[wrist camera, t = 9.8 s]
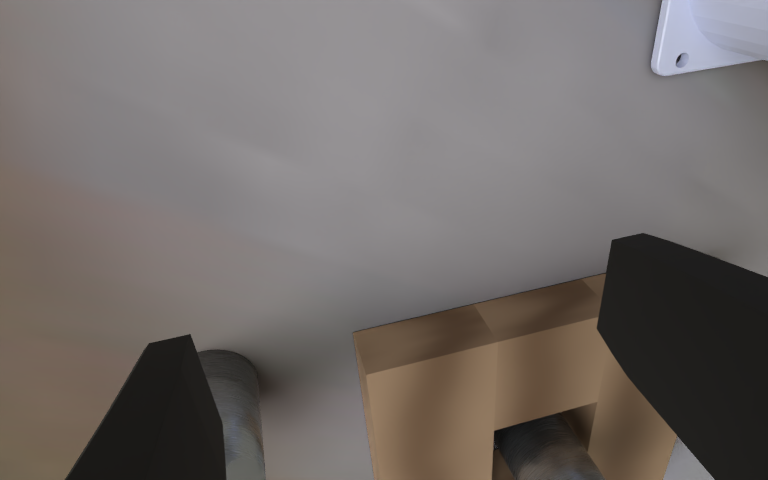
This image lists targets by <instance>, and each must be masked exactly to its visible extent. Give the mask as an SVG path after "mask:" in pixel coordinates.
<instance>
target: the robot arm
mask: <svg viewBox="0 0 768 480" xmlns="http://www.w3.org/2000/svg"><path fill="white" fill-rule="evenodd" d="M680 54H681V58H680V60H679V62H678V63H677V64H676V60H677V57H678V56H679V55H680ZM759 60H766V61H768V0H662V5H661V11H660V16H659V22H658V27H657V33H656V38H655V44H654V49H653V55H652V60H651V68H652V70H653V72H655V73H656V74H658V75H661V76H670V75H676V74H682V73H687V72H693V71H699V70H705V69H711V68H717V67H723V66H729V65H735V64H741V63H747V62H753V61H759ZM596 329H597V330H598V332H599V333H600V335H601V337H602V338H603V340H604V341H605V343H606V345H607V346H608V348H609V350H610V351H611V353H612V354H613V356H614V357H615V359H616V360H617V362H618V363H619V365H620V366H621V368H622V369H623V371H624V372H625V374H626V375H627V377H628V378H629V379H630V380H631V382H632V383H633V384H634V385H635V386H636V388H637V389H638V390H639V391H640V392H641V394H642V395H643V396H644V397H645V398H646V400H647V401H648V402H649V403H650V404H651V405H652V407H653V408H654V409H655V410H656V411H657V413H658V414H659V415H660V416H661V417H662V418H663V420H664V421H665V422H666V423H667V424H668V425H669V427H670V428H671V429H672V430H673V431H674V432H675V434H676V435H677V436H678V437H679V438H680V439H681V441H682V442H683V443H684V444H685V445H686V446H687V448H688V449H689V450H690V451H691V452H692V453H693V455H694V456H695V457H696V458H697V459H698V460H699V462H700V463H701V464H702V465H703V466H704V467H705V469H706V470H707V471H708V472H709V473H710V474H711V476H712V477H713V478H714V479H715V480H768V277H766V276H763V275H760V274H757V273H755V272H752V271H749V270H747V269H744V268H741V267H739V266H736V265H733V264H731V263H728V262H725V261H723V260H720V259H717V258H715V257H712V256H709V255H707V254H704V253H701V252H699V251H696V250H693V249H690V248H687V247H685V246H682V245H679V244H676V243H673V242H670V241H667V240H664V239H661V238H658V237H655V236H651V235H648V234H644V233H641V234H637V235H632V236H628V237H623V238H619V239H614V240H612V243H611V248H610V254H609V260H608V265H607V271H606V277H605V283H604V288H603V294H602V300H601V306H600V311H599V317H598V323H597V328H596ZM65 480H227V478H226V461H225V447H224V434H223V423H222V420H221V417H220V415H219V412H218V409H217V406H216V404H215V401H214V398H213V395H212V393H211V390H210V387H209V384H208V382H207V379H206V376H205V373H204V371H203V368H202V365H201V362H200V360H199V357H198V354H197V351H196V349H195V346H194V343H193V340H192V338H191V335H190V334H189V335H185V336H180V337H176V338H171V339H167V340H162V341H158V342H153V343H149V344H148V346H147V347H146V348H145V350H144V351H143V353H142V354H141V356H140V358H139V359H138V361H137V363H136V364H135V366H134V368H133V370H132V371H131V373H130V375H129V377H128V378H127V380H126V382H125V383H124V385H123V387H122V388H121V390H120V392H119V394H118V395H117V397H116V399H115V400H114V402H113V404H112V405H111V407H110V409H109V410H108V412H107V414H106V415H105V417H104V419H103V420H102V422H101V424H100V425H99V427H98V428H97V430H96V431H95V433H94V435H93V436H92V438H91V439H90V441H89V442H88V444H87V446H86V447H85V449H84V450H83V452H82V454H81V455H80V457H79V458H78V460H77V461H76V463H75V465H74V466H73V468H72V469H71V471H70V472H69V474H68V475H67V477H66V479H65Z"/></svg>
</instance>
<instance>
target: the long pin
mask: <svg viewBox="0 0 768 480" xmlns="http://www.w3.org/2000/svg"><path fill="white" fill-rule="evenodd" d="M494 441H495V443H496V445H497V447H498V449H499V451H500V452H501V454H502V456H503V458H504V460H505V462H506V464H507V466H508V468H509V470H510V472H511V474H512V476H513V478H514V480H606V479H605V478H604V476H603V475H602V473H601V472H600V470H599V469H598V467H597V466H596V464H595V463H594V461H593V460H592V458H591V457H590V455H589V454H588V452H587V451H586V449H585V448H584V447H583V445H582V444H581V442H580V441H579V439H578V438H577V436H576V435H575V433H574V432H573V430H572V429H571V427H570V426H569V424H568V423H567V421H566V420H565V418H564V417H563V415H562V414H561V413H560V412H559V413H555V414H552V415H548V416H545V417H541V418H537V419H534V420H530V421H527V422H523V423H520V424H516V425H512V426H509V427H505V428H502V429H498V430H495V431H494Z"/></svg>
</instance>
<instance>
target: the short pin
mask: <svg viewBox="0 0 768 480" xmlns="http://www.w3.org/2000/svg"><path fill="white" fill-rule="evenodd" d="M197 354H198V357H199V360H200V362H201V365H202V368H203V371H204V373H205V376H206V379H207V382H208V384H209V387H210V390H211V393H212V395H213V398H214V401H215V404H216V406H217V409H218V412H219V415H220V417H221V420H222V423H223V434H224V447H225V461H226V478H227V480H266V477H265V464H264V451H263V438H262V426H261V413H260V400H259V387H258V376H257V372H256V369H255V368H254V366H253V365H252V363H251V362H250V361H249V360H247V359H246V358H245V357H243V356H241V355H239V354H237V353H234V352H230V351H225V350H207V351H202V352H198V353H197Z"/></svg>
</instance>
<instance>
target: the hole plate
mask: <svg viewBox="0 0 768 480" xmlns="http://www.w3.org/2000/svg"><path fill="white" fill-rule="evenodd" d="M605 277H606V273H605V274H600V275H596V276H592V277H588V278H583V279H579V280H575V281H571V282H566V283H562V284H558V285H554V286H549V287H545V288H541V289H537V290H532V291H528V292H524V293H519V294H515V295H511V296H507V297H502V298H498V299H494V300H490V301H485V302H481V303H477V304H473V305H468V306H464V307H460V308H456V309H451V310H447V311H443V312H438V313H434V314H430V315H426V316H421V317H417V318H413V319H409V320H404V321H400V322H396V323H392V324H387V325H383V326H379V327H375V328H370V329H366V330H362V331H358V332H353V337H354V344H355V350H356V357H357V364H358V371H359V378H360V384H361V391H362V398H363V405H364V412H365V418H366V425H367V432H368V439H369V445H370V452H371V459H372V466H373V473H374V479H375V480H514V478H513V476H512V474H511V472H510V470H509V468H508V466H507V464H506V462H505V460H504V458H503V456H502V454H501V452H500V451H499V449H496V450H493V441H494V431H495V430H498V429H502V428H505V427H509V426H512V425H516V424H520V423H523V422H527V421H530V420H534V419H537V418H541V417H545V416H548V415H552V414H555V413H559V412H562V415H563V417H564V418H565V420H566V421H567V423H568V424H569V426H570V427H571V429H572V430H573V432H574V433H575V435H576V436H577V438H578V439H579V441H580V442H581V444H582V445H583V447H584V448H585V449H586V451H587V452H588V454H589V455H590V457H591V458H592V460H593V461H594V463H595V464H596V466H597V467H598V469H599V470H600V472H601V473H602V475H603V476H604V478H605V479H606V480H663V478H664V474H665V471H666V468H667V465H668V462H669V459H670V456H671V453H672V450H673V447H674V444H675V441H676V438H677V435H676V434H675V432H674V431H673V430H672V429H671V428H670V427H669V425H668V424H667V423H666V422H665V421H664V420H663V418H662V417H661V416H660V415H659V414H658V413H657V411H656V410H655V409H654V408H653V407H652V405H651V404H650V403H649V402H648V401H647V400H646V398H645V397H644V396H643V395H642V394H641V392H640V391H639V390H638V389H637V388H636V386H635V385H634V384H633V383H632V382H631V380H630V379H629V378H628V377H627V375H626V374H625V372H624V371H623V369H622V368H621V366H620V365H619V363H618V362H617V360H616V359H615V357H614V356H613V354H612V353H611V351H610V350H609V348H608V346H607V345H606V343H605V341H604V340H603V338H602V337H601V335H600V333H599V332H598V330H597V329H596V328H597V323H598V317H599V311H600V306H601V300H602V294H603V288H604V283H605Z"/></svg>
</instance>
